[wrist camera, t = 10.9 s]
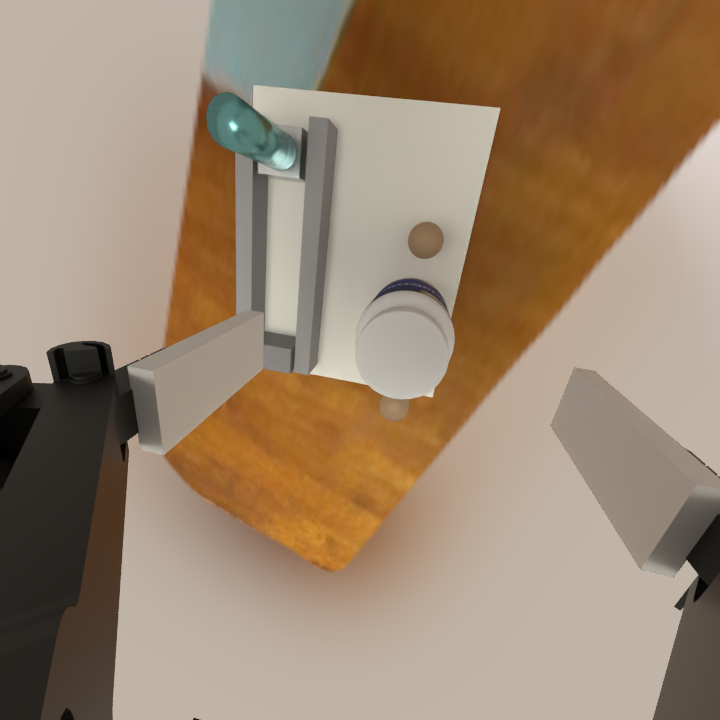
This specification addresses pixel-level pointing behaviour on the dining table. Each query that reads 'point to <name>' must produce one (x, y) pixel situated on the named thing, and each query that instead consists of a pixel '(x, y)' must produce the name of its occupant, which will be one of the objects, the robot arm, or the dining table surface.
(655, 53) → the dining table surface
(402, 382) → the pill bottle
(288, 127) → the pin
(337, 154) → the board
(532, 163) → the dining table surface
